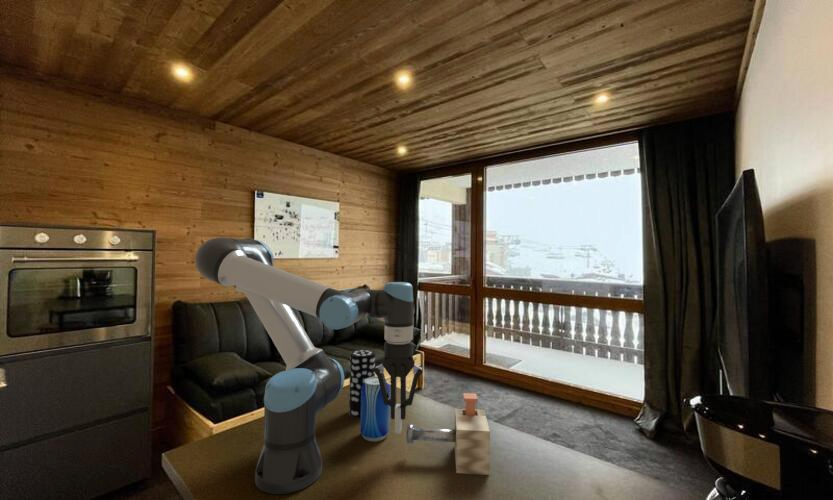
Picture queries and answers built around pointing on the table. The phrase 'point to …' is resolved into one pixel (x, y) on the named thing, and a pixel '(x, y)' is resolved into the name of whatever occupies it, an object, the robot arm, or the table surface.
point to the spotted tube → (359, 378)
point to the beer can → (374, 411)
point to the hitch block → (472, 443)
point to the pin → (430, 434)
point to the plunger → (470, 403)
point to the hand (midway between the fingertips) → (398, 430)
